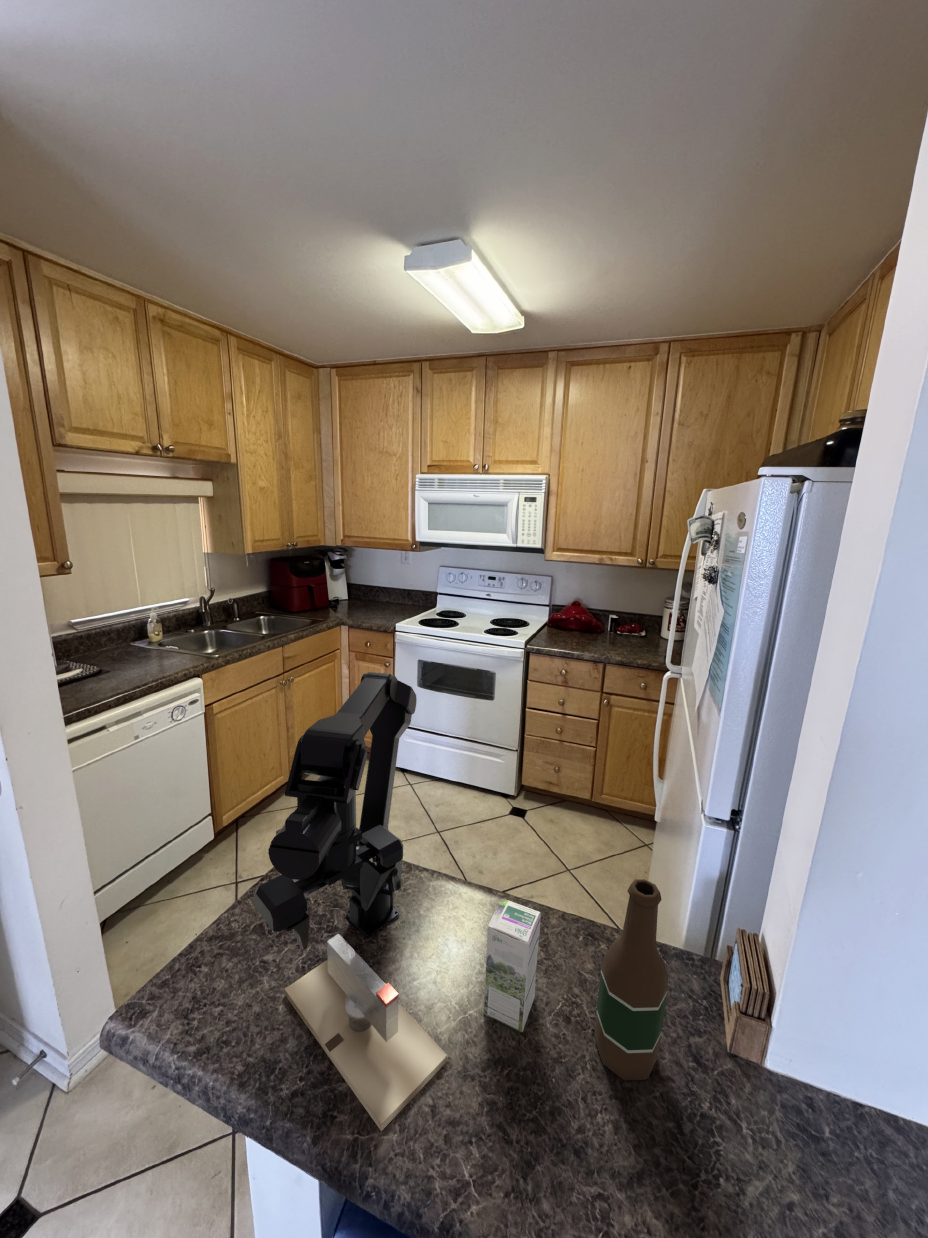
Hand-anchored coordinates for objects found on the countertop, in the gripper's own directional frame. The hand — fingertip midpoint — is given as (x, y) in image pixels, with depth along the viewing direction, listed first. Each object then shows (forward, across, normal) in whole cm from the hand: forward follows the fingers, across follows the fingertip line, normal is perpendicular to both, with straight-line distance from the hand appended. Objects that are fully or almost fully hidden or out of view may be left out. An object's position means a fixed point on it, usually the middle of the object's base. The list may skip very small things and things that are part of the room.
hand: (335, 927), depth 66 cm
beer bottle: (+12, -23, +31) cm, 40 cm away
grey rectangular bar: (+9, 0, +5) cm, 10 cm away
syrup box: (+12, -16, +17) cm, 27 cm away
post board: (+12, 0, +5) cm, 13 cm away
